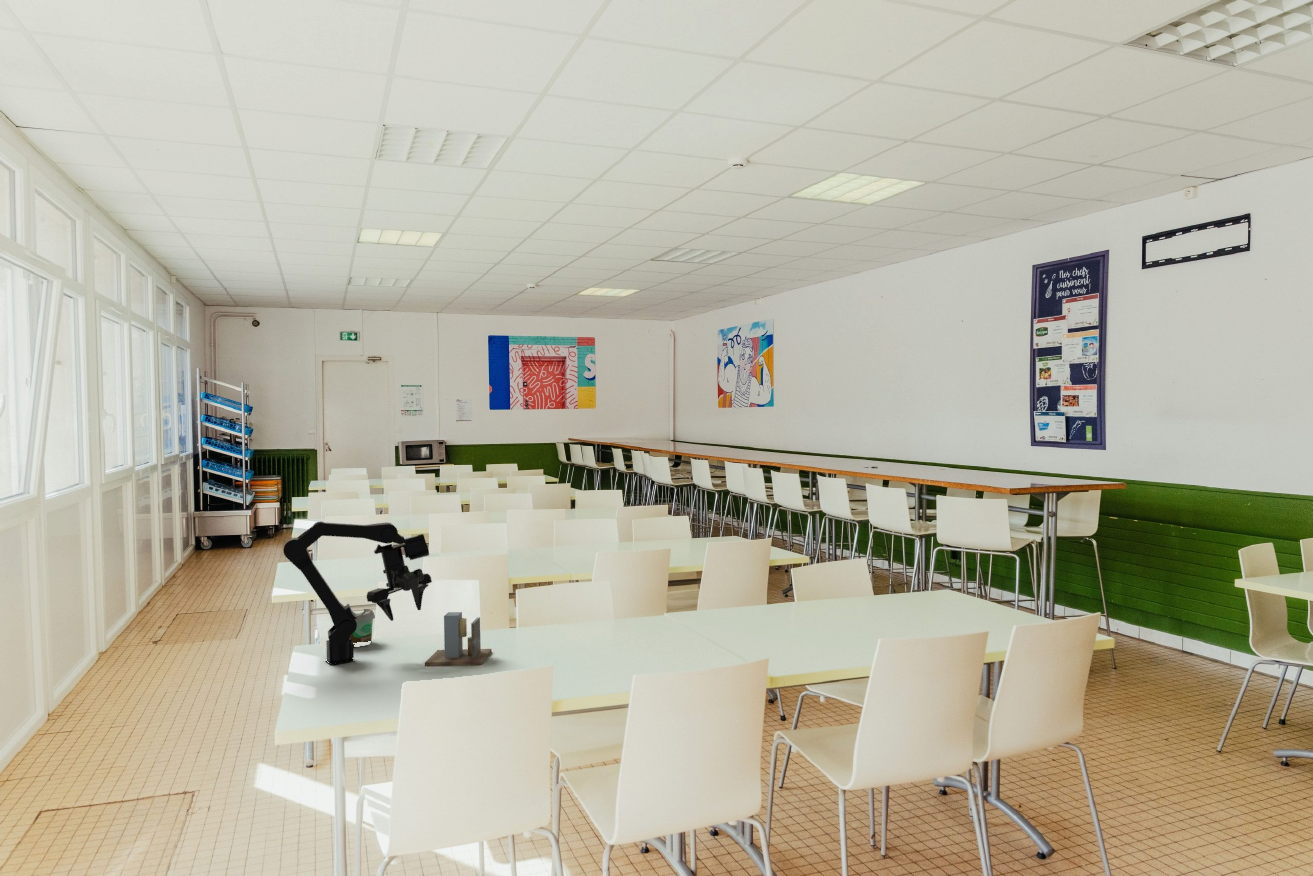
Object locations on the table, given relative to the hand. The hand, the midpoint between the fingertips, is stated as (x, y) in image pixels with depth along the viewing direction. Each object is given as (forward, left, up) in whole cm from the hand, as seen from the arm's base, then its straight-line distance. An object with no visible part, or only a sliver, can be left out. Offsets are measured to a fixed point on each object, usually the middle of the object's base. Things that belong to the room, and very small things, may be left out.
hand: (405, 615), depth 244 cm
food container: (-6, +21, -12) cm, 25 cm away
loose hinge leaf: (+8, -15, -11) cm, 20 cm away
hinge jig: (+10, -16, -12) cm, 22 cm away
